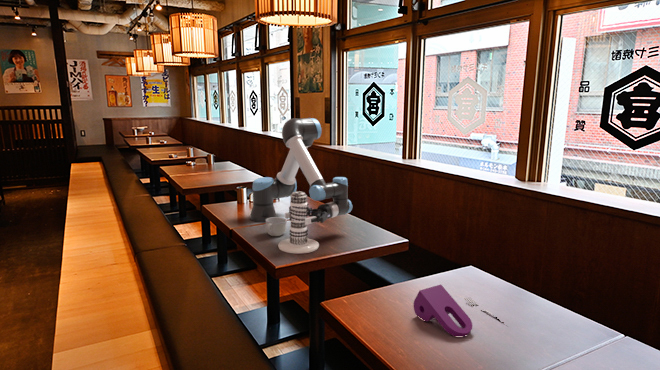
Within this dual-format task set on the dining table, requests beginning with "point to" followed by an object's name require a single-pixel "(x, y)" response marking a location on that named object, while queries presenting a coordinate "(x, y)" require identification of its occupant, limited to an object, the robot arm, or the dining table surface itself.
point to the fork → (475, 302)
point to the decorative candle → (298, 219)
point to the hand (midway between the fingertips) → (295, 218)
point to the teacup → (275, 226)
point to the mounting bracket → (442, 310)
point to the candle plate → (288, 248)
